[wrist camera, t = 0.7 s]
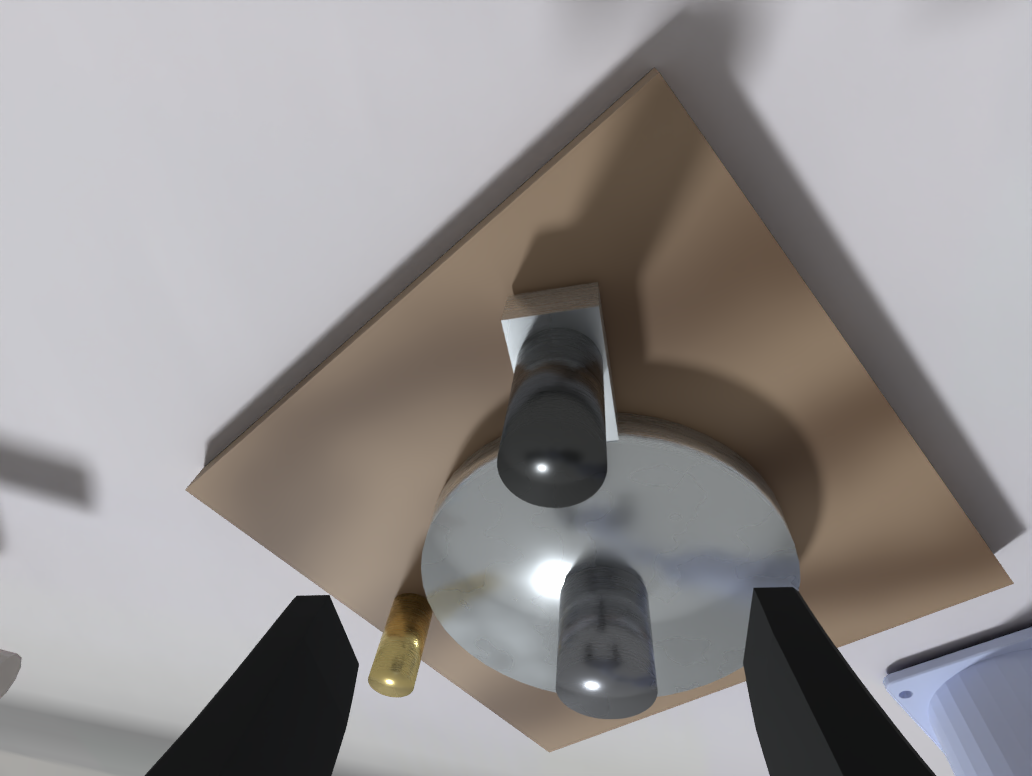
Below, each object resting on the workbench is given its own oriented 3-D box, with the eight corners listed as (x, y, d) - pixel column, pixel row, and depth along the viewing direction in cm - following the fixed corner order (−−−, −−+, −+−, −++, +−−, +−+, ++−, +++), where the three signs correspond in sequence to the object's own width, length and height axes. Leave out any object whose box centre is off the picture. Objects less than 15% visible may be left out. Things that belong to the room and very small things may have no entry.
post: (665, 604, 20) (678, 699, 17) (595, 635, 21) (597, 729, 18) (612, 553, 19) (616, 646, 16) (542, 589, 20) (534, 681, 17)
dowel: (441, 610, 24) (422, 687, 21) (413, 625, 25) (392, 702, 22) (411, 587, 23) (389, 664, 21) (384, 603, 24) (358, 679, 21)
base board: (993, 555, 21) (1013, 583, 20) (550, 726, 30) (549, 752, 29) (654, 67, 14) (659, 72, 13) (203, 468, 23) (185, 489, 22)
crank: (783, 657, 23) (833, 822, 18) (476, 668, 25) (450, 817, 21) (794, 251, 15) (887, 363, 10) (341, 321, 17) (251, 439, 13)
